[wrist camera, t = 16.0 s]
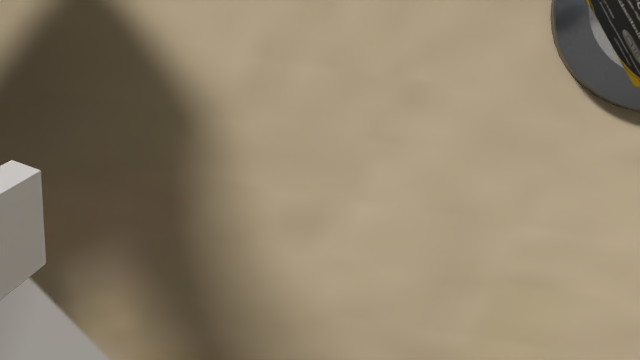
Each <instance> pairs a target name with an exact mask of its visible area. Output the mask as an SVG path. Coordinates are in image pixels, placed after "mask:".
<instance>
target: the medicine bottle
mask: <svg viewBox="0 0 640 360" xmlns="http://www.w3.org/2000/svg"><path fill="white" fill-rule="evenodd" d="M586 1H587V3H588V5H589V6H590V8H591V10H592V12H593V13H594V15H595V17H596V19H597V21H598V22H599V24H600V26H601V28H602V30H603V31H604V33H605V35H606V37H607V38H608V40H609V42H610V44H611V46H612V47H613V49H614V51H615V53H616V55H617V56H618V58H619V60H620V62H621V63H622V65H623V67H624V69H625V71H626V72H627V74H628V76H629V78H630V80H631V81H632V83H633V85H634V86H635V87H638V88H640V0H586Z"/></svg>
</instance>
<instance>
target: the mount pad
mask: <svg viewBox="0 0 640 360" xmlns="http://www.w3.org/2000/svg"><path fill="white" fill-rule="evenodd" d="M551 27H552V34H553V38H554V43H555V45H556V48H557V51H558V53H559V56H560V58H561V59H562V61H563V63H564V65H565V67H566V68H567V69H568V71H569V72H570V73H571V75H572V76H573V77H574V78H575V79H576V80H577V81H578V82H579V83H580V84H581V85H582V86H583V87H584V88H586V89H587V90H588V91H590V92H591V93H592V94H594V95H595V96H597V97H599V98H601V99H603V100H604V101H607V102H609V103H612V104H614V105H617V106H619V107H623V108H627V109H631V110H637V111H640V88H638V87H635V86H634V85H633V83H632V81H631V80H630V78H629V76H628V74H627V72H626V71H625V69H624V67H623V65H622V63H621V62H620V60H619V58H618V56H617V55H616V53H615V51H614V49H613V47H612V46H611V44H610V42H609V40H608V38H607V37H606V35H605V33H604V31H603V30H602V28H601V26H600V24H599V22H598V21H597V19H596V17H595V15H594V13H593V12H592V10H591V8H590V6H589V5H588V3H587V1H586V0H552V4H551Z"/></svg>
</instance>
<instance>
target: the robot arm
mask: <svg viewBox="0 0 640 360" xmlns="http://www.w3.org/2000/svg"><path fill="white" fill-rule="evenodd" d="M45 264H46V253H45V235H44V217H43V199H42V181H41V170H38V169H35V168H33V167H30V166H27V165H24V164H21V163H19V162H16V161H13V160H11V161H9V162H7V163H5V164H3V165H1V166H0V300H1V299H2V298H4V297H5V296H6V295H7V294H9V293H10V292H11V291H12V290H14V289H15V288H16V287H17V286H18V285H20V284H21V283H22V282H24V281H25V280H26V279H27V278H29V277H30V276H31V275H32V274H34V273H35V272H36V271H37V270H39V269H40V268H41V267H43V266H44V265H45Z"/></svg>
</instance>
